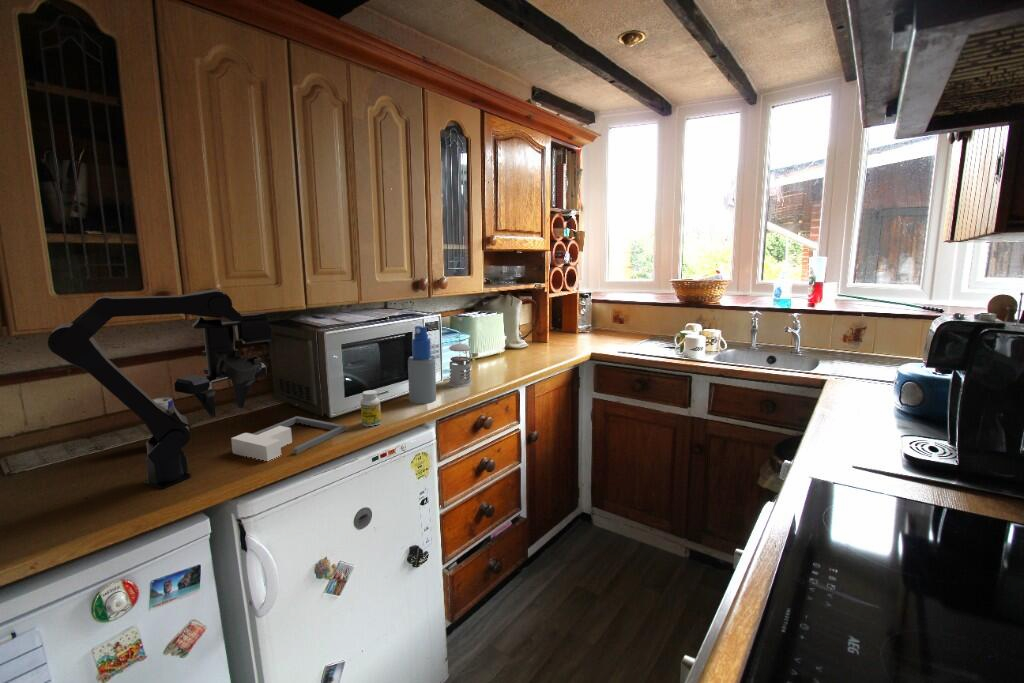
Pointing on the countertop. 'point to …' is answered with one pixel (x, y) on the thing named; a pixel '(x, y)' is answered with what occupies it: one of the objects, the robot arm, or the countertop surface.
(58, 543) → the countertop surface
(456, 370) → the french press
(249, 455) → the t block
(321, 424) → the grey rectangular rod frame
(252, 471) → the countertop surface
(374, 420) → the supplement bottle
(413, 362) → the spray bottle
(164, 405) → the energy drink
